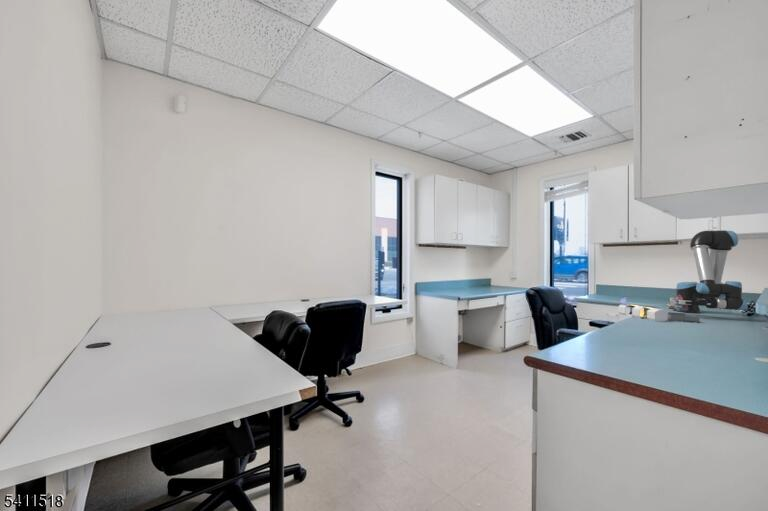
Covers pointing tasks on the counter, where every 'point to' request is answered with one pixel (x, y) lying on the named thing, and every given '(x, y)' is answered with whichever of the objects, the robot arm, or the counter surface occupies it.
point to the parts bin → (682, 317)
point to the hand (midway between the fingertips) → (674, 300)
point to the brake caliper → (677, 304)
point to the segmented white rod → (643, 311)
